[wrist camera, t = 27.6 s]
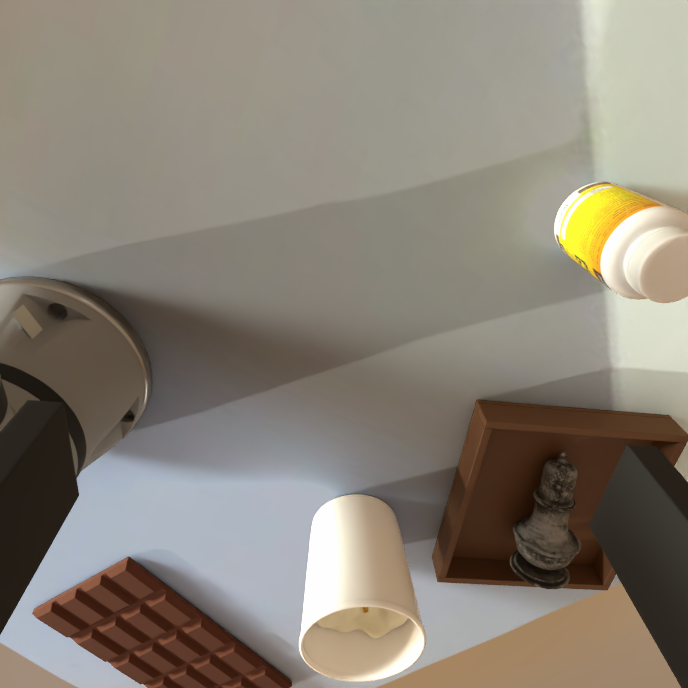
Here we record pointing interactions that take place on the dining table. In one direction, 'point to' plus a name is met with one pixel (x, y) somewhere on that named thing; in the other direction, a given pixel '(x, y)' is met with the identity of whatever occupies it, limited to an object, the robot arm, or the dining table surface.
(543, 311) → the dining table surface
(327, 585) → the candle holder
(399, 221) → the dining table surface
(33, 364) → the robot arm
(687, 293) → the supplement bottle
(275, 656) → the dining table surface
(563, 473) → the salt shaker
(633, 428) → the tray
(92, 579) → the chocolate bar
